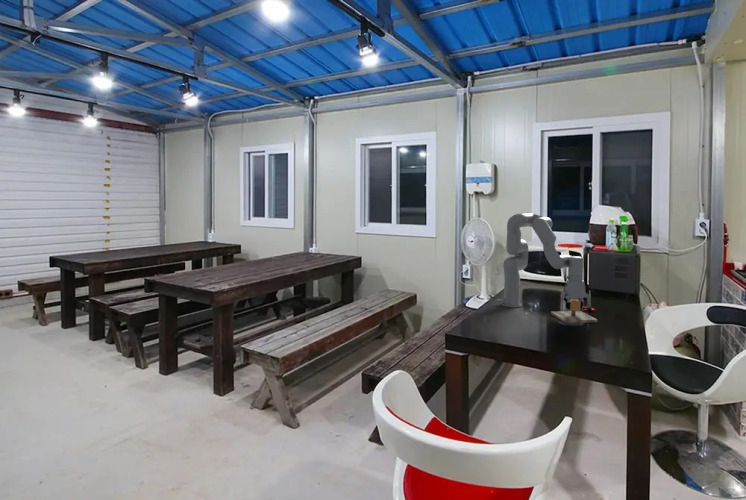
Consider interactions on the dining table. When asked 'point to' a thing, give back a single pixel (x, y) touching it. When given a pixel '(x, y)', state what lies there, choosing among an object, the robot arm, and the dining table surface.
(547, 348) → the dining table surface
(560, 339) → the dining table surface
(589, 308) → the tow hook
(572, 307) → the collar
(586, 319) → the post base
